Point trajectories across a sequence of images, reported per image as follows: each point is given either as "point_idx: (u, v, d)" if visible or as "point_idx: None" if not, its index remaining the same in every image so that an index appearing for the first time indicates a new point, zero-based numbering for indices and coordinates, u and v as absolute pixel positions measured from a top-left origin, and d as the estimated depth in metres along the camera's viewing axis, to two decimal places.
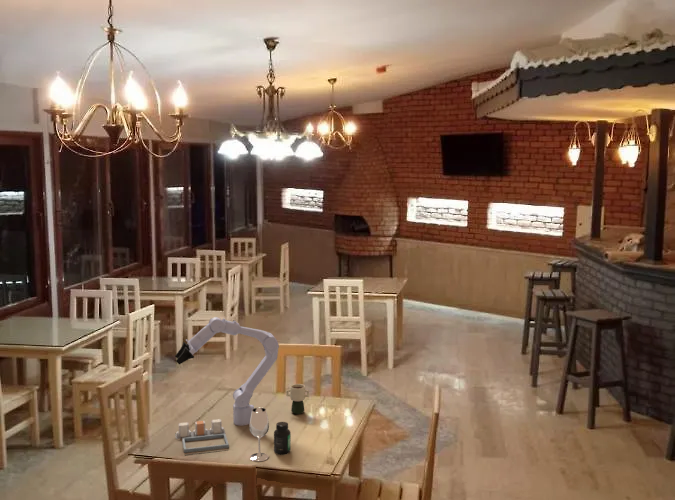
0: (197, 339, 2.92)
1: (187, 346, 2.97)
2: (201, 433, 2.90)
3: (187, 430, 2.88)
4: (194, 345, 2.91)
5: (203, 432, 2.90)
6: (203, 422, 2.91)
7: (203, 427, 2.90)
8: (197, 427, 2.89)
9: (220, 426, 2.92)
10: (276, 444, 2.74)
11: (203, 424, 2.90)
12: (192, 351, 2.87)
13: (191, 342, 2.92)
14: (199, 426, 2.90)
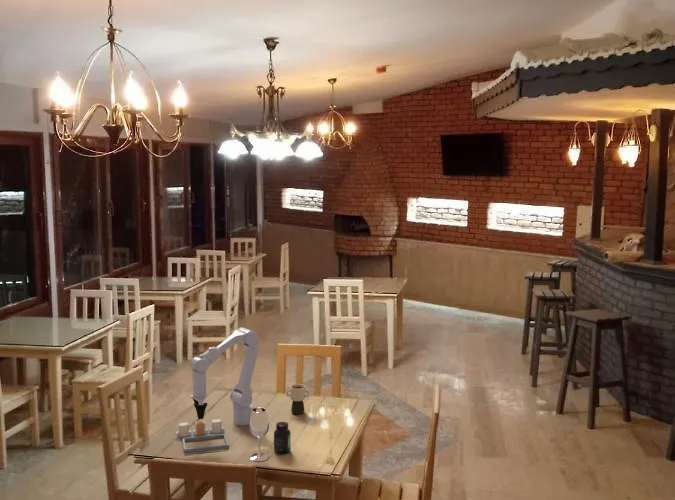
0: (196, 389, 2.86)
1: None
2: (201, 433, 2.90)
3: (187, 430, 2.88)
4: (199, 395, 2.87)
5: (203, 432, 2.90)
6: (203, 422, 2.91)
7: (203, 427, 2.90)
8: (197, 427, 2.89)
9: (220, 426, 2.92)
10: (276, 444, 2.74)
11: (203, 424, 2.90)
12: (200, 402, 2.83)
13: (195, 395, 2.87)
14: (199, 426, 2.90)
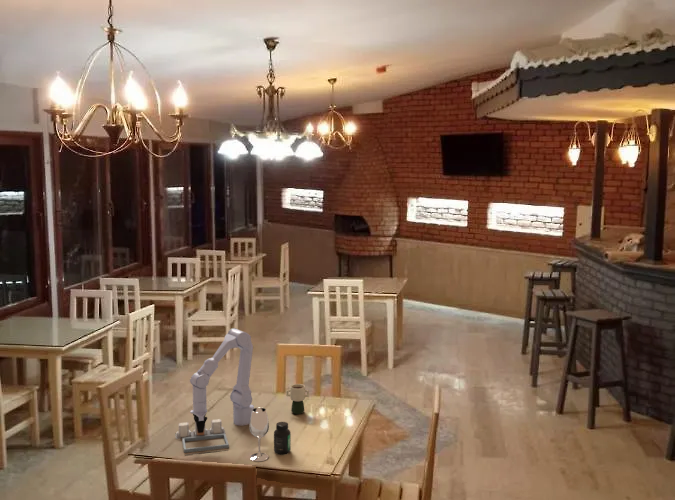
0: (196, 404, 2.87)
1: None
2: (201, 433, 2.90)
3: (187, 430, 2.88)
4: (199, 410, 2.87)
5: (203, 432, 2.90)
6: None
7: None
8: None
9: (220, 426, 2.92)
10: (276, 444, 2.74)
11: None
12: (201, 418, 2.84)
13: (195, 410, 2.88)
14: None
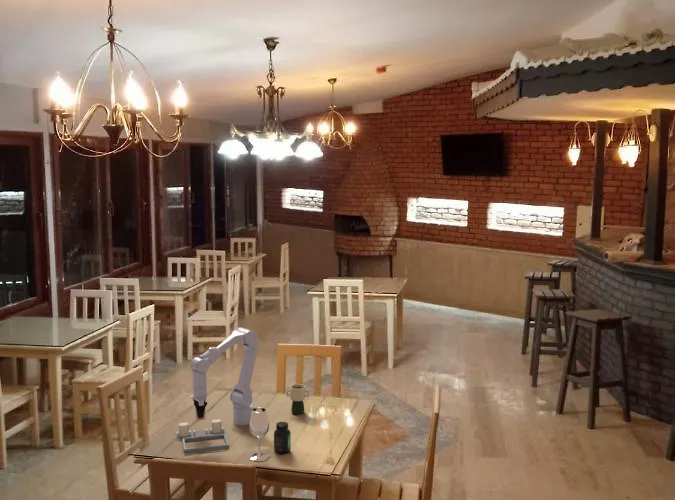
0: (196, 389, 2.85)
1: None
2: (201, 418, 2.88)
3: (187, 430, 2.88)
4: (199, 395, 2.86)
5: (203, 417, 2.89)
6: None
7: None
8: None
9: (220, 426, 2.92)
10: (276, 444, 2.74)
11: None
12: (200, 403, 2.82)
13: (195, 395, 2.86)
14: None
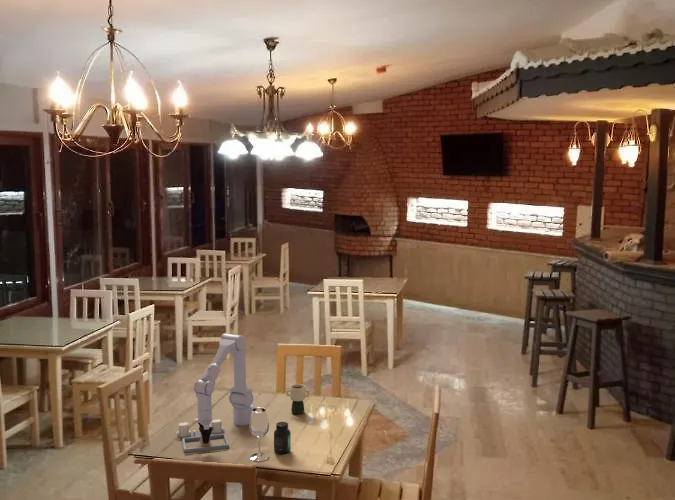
0: (201, 412, 2.76)
1: None
2: (206, 445, 2.79)
3: (187, 430, 2.88)
4: (204, 419, 2.76)
5: (208, 444, 2.79)
6: None
7: None
8: (202, 439, 2.78)
9: (220, 426, 2.92)
10: (276, 444, 2.74)
11: None
12: (206, 427, 2.72)
13: (200, 419, 2.77)
14: None
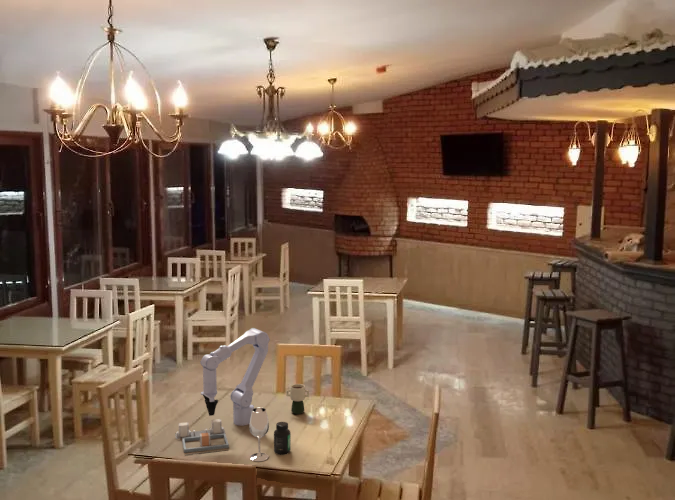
0: (207, 386, 2.90)
1: None
2: (206, 445, 2.79)
3: (187, 430, 2.88)
4: (209, 392, 2.91)
5: (208, 444, 2.79)
6: (208, 434, 2.80)
7: (208, 439, 2.79)
8: (202, 439, 2.78)
9: (220, 426, 2.92)
10: (276, 444, 2.74)
11: (208, 436, 2.79)
12: (211, 399, 2.87)
13: (205, 392, 2.91)
14: (204, 439, 2.78)
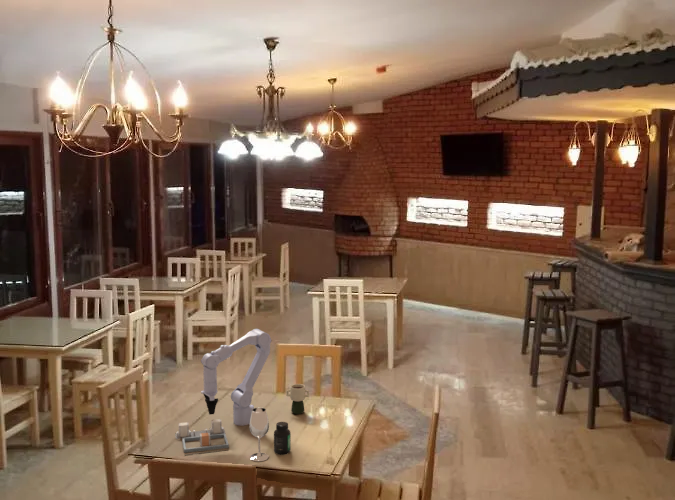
0: (207, 385, 2.91)
1: None
2: (206, 445, 2.79)
3: (187, 430, 2.88)
4: (210, 391, 2.92)
5: (208, 444, 2.79)
6: (208, 434, 2.80)
7: (208, 439, 2.79)
8: (202, 439, 2.78)
9: (220, 426, 2.92)
10: (276, 444, 2.74)
11: (208, 436, 2.79)
12: (211, 398, 2.88)
13: (206, 391, 2.92)
14: (204, 439, 2.78)
